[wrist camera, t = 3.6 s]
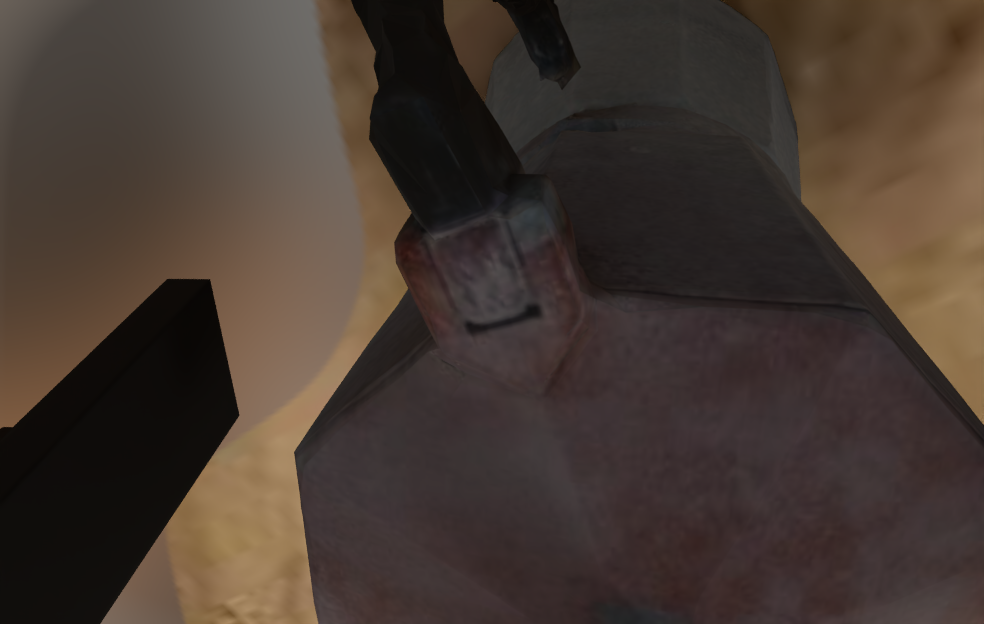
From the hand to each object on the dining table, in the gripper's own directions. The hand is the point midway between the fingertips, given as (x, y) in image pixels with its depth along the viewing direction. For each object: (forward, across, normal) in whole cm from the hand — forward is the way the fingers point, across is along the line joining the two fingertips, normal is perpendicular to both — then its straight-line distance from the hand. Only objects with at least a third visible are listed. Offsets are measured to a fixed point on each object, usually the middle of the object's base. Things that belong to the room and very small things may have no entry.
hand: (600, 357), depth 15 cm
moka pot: (+13, 0, 0) cm, 13 cm away
